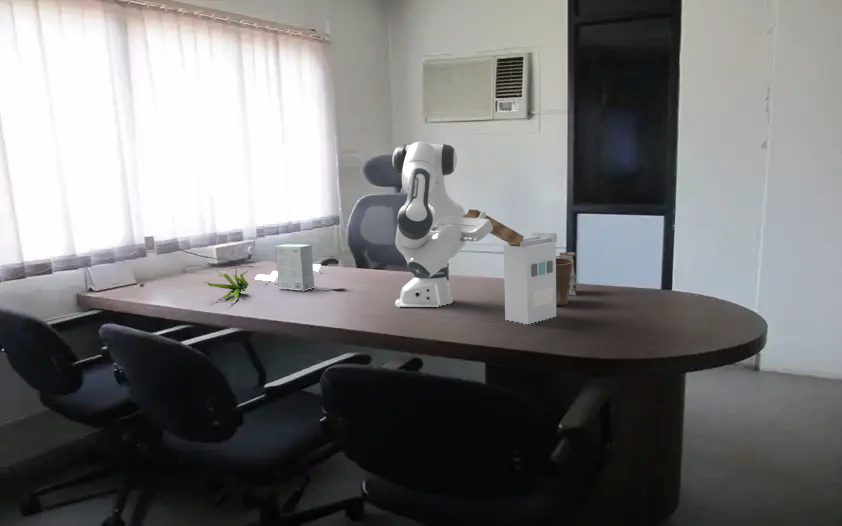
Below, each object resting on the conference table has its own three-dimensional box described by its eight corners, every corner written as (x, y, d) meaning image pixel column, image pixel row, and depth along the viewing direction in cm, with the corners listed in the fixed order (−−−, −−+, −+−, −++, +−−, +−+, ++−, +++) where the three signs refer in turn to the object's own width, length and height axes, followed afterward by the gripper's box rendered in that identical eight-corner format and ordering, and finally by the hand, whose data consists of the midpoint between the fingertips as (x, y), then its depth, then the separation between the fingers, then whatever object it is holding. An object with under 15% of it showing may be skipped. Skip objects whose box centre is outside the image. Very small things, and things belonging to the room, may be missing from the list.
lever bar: (473, 220, 205) (477, 209, 205) (465, 220, 208) (469, 209, 208) (520, 246, 220) (523, 236, 221) (512, 245, 223) (515, 235, 223)
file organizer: (251, 285, 318) (250, 274, 317) (302, 273, 347) (301, 263, 346) (271, 287, 311) (270, 276, 310) (321, 274, 340) (320, 264, 339)
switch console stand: (528, 325, 221) (527, 238, 216) (505, 320, 229) (503, 236, 224) (558, 316, 231) (557, 233, 226) (534, 312, 239) (533, 231, 234)
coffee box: (576, 295, 264) (576, 255, 261) (559, 295, 265) (559, 255, 262) (575, 290, 272) (575, 251, 270) (559, 290, 274) (559, 251, 271)
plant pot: (570, 308, 241) (570, 265, 239) (526, 307, 247) (525, 264, 245) (576, 299, 256) (576, 258, 254) (534, 297, 262) (533, 257, 260)
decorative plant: (191, 308, 270) (187, 272, 267) (237, 293, 297) (234, 260, 294) (227, 310, 263) (224, 273, 260) (271, 294, 290) (268, 261, 287)
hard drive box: (315, 288, 299) (312, 244, 296) (303, 292, 293) (300, 247, 289) (289, 286, 307) (286, 243, 304) (277, 289, 301) (274, 245, 298)
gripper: (471, 232, 193) (499, 205, 199) (424, 228, 208) (452, 203, 214) (479, 250, 195) (506, 223, 202) (433, 245, 211) (459, 219, 217)
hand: (478, 213), depth 208 cm, fingers closed on lever bar, 3 cm apart
